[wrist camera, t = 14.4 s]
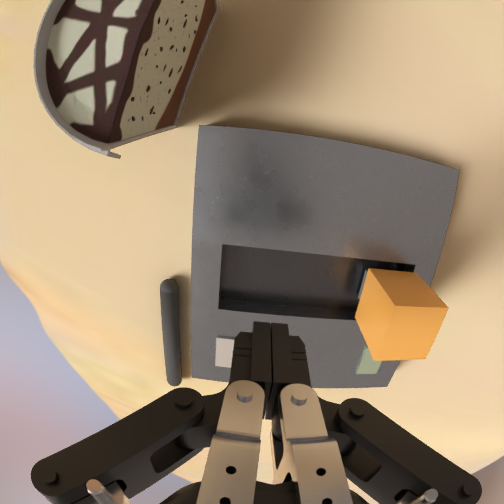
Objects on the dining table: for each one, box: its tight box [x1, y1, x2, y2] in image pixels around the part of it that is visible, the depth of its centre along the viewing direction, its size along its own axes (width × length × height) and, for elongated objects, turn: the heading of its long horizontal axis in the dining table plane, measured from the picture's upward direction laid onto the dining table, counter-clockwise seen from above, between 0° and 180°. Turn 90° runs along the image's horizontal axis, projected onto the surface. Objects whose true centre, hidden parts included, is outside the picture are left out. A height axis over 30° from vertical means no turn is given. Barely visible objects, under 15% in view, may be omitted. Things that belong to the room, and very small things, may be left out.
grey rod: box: [160, 279, 182, 386], centre depth 25 cm, size 11×1×1 cm, turn 174°
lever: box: [355, 268, 448, 361], centre depth 19 cm, size 4×4×7 cm
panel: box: [191, 125, 460, 388], centre depth 22 cm, size 20×18×2 cm
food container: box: [34, 0, 219, 159], centre depth 13 cm, size 12×6×10 cm, turn 162°
